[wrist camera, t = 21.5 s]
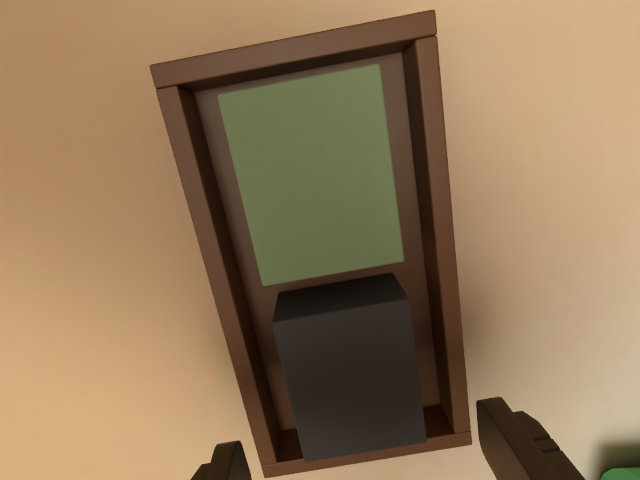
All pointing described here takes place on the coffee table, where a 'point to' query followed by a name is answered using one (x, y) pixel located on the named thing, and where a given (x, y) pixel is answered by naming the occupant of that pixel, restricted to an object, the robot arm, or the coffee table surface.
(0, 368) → the coffee table surface
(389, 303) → the charcoal block
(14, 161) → the coffee table surface
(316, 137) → the sage pad
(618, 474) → the toy tank
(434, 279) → the brown wooden tray
